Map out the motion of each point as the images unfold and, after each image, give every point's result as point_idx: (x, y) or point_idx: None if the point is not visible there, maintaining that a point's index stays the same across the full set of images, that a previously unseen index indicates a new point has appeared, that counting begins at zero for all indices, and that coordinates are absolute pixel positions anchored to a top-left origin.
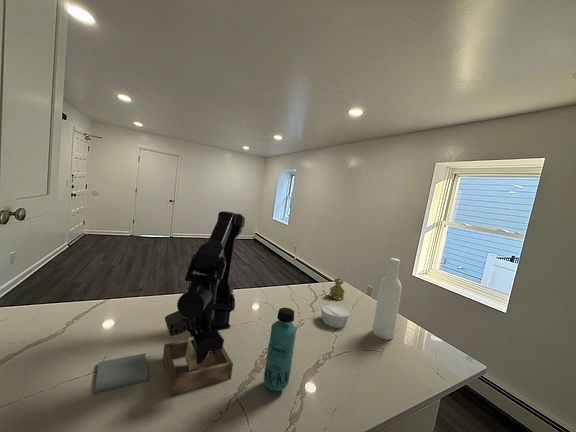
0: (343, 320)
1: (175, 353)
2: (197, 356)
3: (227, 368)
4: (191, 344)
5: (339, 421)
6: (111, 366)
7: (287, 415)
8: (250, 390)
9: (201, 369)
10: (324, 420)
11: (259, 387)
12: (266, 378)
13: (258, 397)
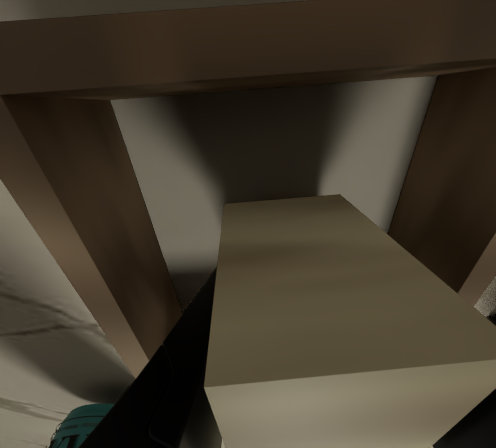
0: None
1: (450, 135)
2: (177, 322)
3: None
4: (293, 383)
5: (11, 445)
6: None
7: (12, 398)
8: (107, 358)
9: (104, 294)
10: (9, 433)
11: (120, 374)
12: (71, 439)
13: (76, 367)
